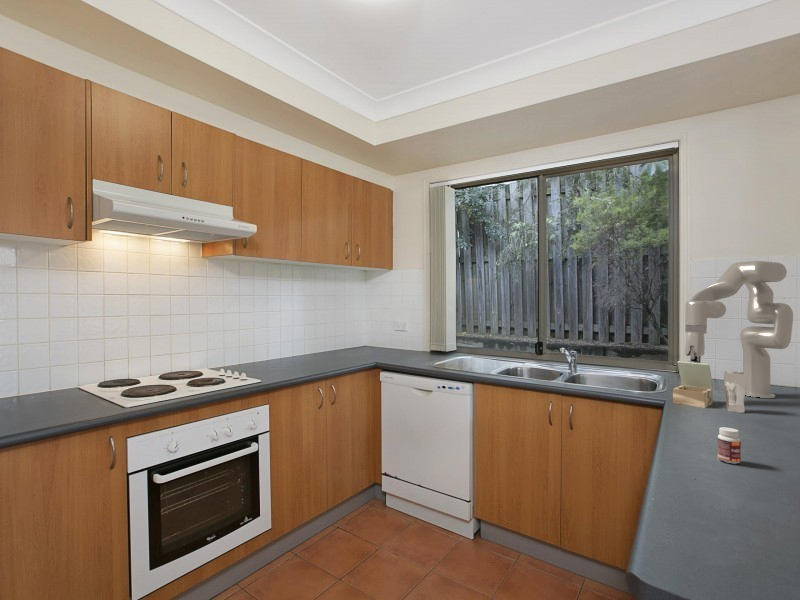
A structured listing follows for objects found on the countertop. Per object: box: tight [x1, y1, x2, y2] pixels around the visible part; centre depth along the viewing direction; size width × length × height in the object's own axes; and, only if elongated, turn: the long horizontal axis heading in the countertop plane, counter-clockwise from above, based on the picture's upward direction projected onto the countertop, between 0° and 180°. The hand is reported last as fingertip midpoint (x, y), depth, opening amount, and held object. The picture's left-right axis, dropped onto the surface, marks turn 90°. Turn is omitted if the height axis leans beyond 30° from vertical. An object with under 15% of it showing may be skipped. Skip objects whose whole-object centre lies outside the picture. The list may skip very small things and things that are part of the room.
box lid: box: [677, 360, 714, 389], centre depth 177 cm, size 12×11×2 cm
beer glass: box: [723, 370, 747, 414], centre depth 162 cm, size 7×7×15 cm
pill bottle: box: [717, 426, 742, 462], centre depth 109 cm, size 5×5×8 cm
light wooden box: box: [672, 384, 714, 409], centre depth 175 cm, size 12×11×6 cm
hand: (695, 372), depth 178 cm, fingers closed
